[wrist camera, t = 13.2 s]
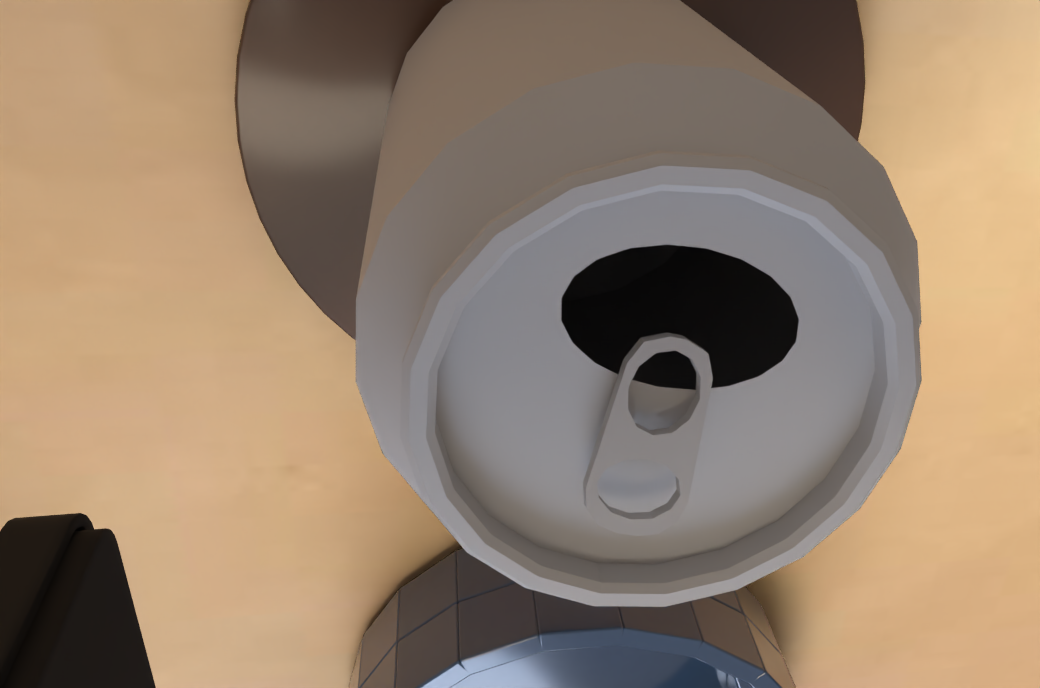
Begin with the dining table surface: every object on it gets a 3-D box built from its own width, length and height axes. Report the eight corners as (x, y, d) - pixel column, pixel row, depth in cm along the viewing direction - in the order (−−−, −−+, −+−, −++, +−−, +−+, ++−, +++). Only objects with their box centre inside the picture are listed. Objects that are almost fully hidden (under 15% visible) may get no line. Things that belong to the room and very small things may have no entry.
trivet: (104, 77, 22) (92, 85, 21) (626, -405, 18) (633, -414, 18) (502, 476, 27) (505, 493, 27) (955, 164, 24) (971, 174, 23)
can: (770, -1, 21) (1106, 182, 11) (665, 311, 24) (841, 687, 14) (422, -88, 20) (407, 21, 9) (361, 253, 23) (298, 621, 13)
